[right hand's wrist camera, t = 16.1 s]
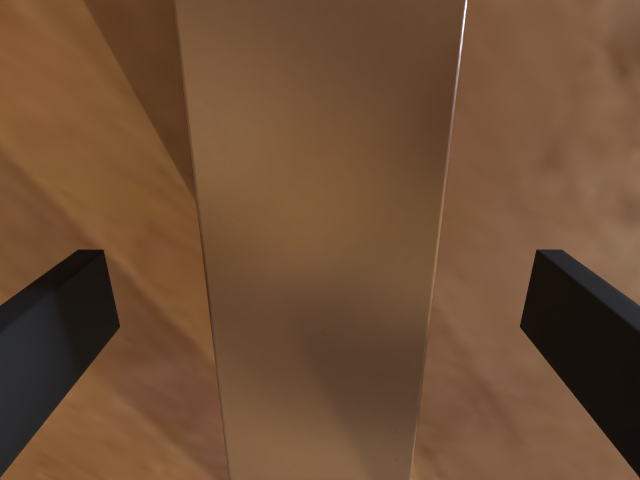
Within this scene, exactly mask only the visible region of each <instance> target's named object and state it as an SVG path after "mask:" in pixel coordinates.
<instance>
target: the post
mask: <svg viewBox="0 0 640 480" xmlns="http://www.w3.org/2000/svg"><path fill="white" fill-rule="evenodd" d="M172 1H173V10H174V18H175V26H176V35H177V43H178V52H179V60H180V69H181V77H182V85H183V94H184V102H185V111H186V119H187V128H188V136H189V144H190V153H191V161H192V170H193V178H194V187H195V195H196V203H197V212H198V220H199V229H200V237H201V246H202V254H203V262H204V271H205V279H206V288H207V296H208V305H209V313H210V321H211V330H212V338H213V347H214V355H215V364H216V372H217V381H218V389H219V397H220V406H221V414H222V423H223V431H224V440H225V448H226V456H227V465H228V473H229V480H411V476H412V468H413V459H414V451H415V442H416V434H417V425H418V417H419V408H420V400H421V391H422V383H423V374H424V366H425V358H426V349H427V341H428V332H429V324H430V315H431V307H432V298H433V290H434V281H435V273H436V264H437V256H438V247H439V239H440V230H441V222H442V214H443V205H444V197H445V188H446V180H447V171H448V163H449V154H450V146H451V137H452V129H453V120H454V112H455V103H456V95H457V87H458V78H459V70H460V61H461V53H462V44H463V36H464V27H465V19H466V10H467V2H468V0H172Z"/></svg>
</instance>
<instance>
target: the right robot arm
mask: <svg viewBox="0 0 640 480" xmlns="http://www.w3.org/2000/svg"><path fill="white" fill-rule="evenodd" d="M119 328H120V324H119V319H118V315H117V310H116V305H115V301H114V296H113V291H112V287H111V282H110V278H109V273H108V268H107V264H106V259H105V254H104V250H77V251H76V252H74V253H73V254H71V255H70V256H69V257H67V258H66V259H65V260H63V261H62V262H60V263H59V264H58V265H56V266H55V267H53V268H52V269H51V270H49V271H48V272H47V273H45V274H44V275H42V276H41V277H40V278H38V279H37V280H35V281H34V282H33V283H31V284H30V285H28V286H27V287H26V288H24V289H23V290H22V291H20V292H19V293H17V294H16V295H15V296H13V297H12V298H10V299H9V300H8V301H6V302H5V303H4V304H2V305H1V306H0V477H1V476H2V475H3V474H4V472H5V471H6V470H7V469H8V467H9V466H10V465H11V464H12V462H13V461H14V460H15V458H16V457H17V456H18V455H19V453H20V452H21V451H22V450H23V448H24V447H25V446H26V445H27V443H28V442H29V441H30V440H31V438H32V437H33V436H34V435H35V433H36V432H37V431H38V430H39V428H40V427H41V426H42V425H43V423H44V422H45V421H46V419H47V418H48V417H49V416H50V414H51V413H52V412H53V411H54V409H55V408H56V407H57V406H58V404H59V403H60V402H61V401H62V399H63V398H64V397H65V396H66V394H67V393H68V392H69V391H70V389H71V388H72V387H73V385H74V384H75V383H76V382H77V380H78V379H79V378H80V377H81V375H82V374H83V373H84V372H85V370H86V369H87V368H88V367H89V365H90V364H91V363H92V362H93V360H94V359H95V358H96V357H97V355H98V354H99V353H100V351H101V350H102V349H103V348H104V346H105V345H106V344H107V343H108V341H109V340H110V339H111V338H112V336H113V335H114V334H115V333H116V331H117V330H118V329H119ZM520 328H521V329H522V330H523V331H524V333H525V334H526V335H527V336H528V338H529V339H530V340H531V341H532V343H533V344H534V345H535V346H536V348H537V349H538V350H539V351H540V353H541V354H542V355H543V357H544V358H545V359H546V360H547V362H548V363H549V364H550V365H551V367H552V368H553V369H554V370H555V372H556V373H557V374H558V375H559V377H560V378H561V379H562V380H563V382H564V383H565V384H566V385H567V387H568V388H569V389H570V391H571V392H572V393H573V394H574V396H575V397H576V398H577V399H578V401H579V402H580V403H581V404H582V406H583V407H584V408H585V409H586V411H587V412H588V413H589V414H590V416H591V417H592V418H593V419H594V421H595V422H596V423H597V425H598V426H599V427H600V428H601V430H602V431H603V432H604V433H605V435H606V436H607V437H608V438H609V440H610V441H611V442H612V443H613V445H614V446H615V447H616V448H617V450H618V451H619V452H620V453H621V455H622V456H623V457H624V458H625V460H626V461H627V462H628V464H629V465H630V466H631V467H632V469H633V470H634V471H635V472H636V474H637V475H638V476H639V477H640V306H639V305H638V304H636V303H635V302H634V301H632V300H631V299H630V298H628V297H627V296H625V295H624V294H623V293H621V292H620V291H618V290H617V289H616V288H614V287H613V286H612V285H610V284H609V283H607V282H606V281H605V280H603V279H602V278H600V277H599V276H598V275H596V274H595V273H593V272H592V271H591V270H589V269H588V268H587V267H585V266H584V265H582V264H581V263H580V262H578V261H577V260H575V259H574V258H573V257H571V256H570V255H569V254H567V253H566V252H564V251H563V250H536V254H535V259H534V264H533V268H532V273H531V278H530V282H529V287H528V291H527V296H526V301H525V305H524V310H523V315H522V319H521V324H520Z"/></svg>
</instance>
